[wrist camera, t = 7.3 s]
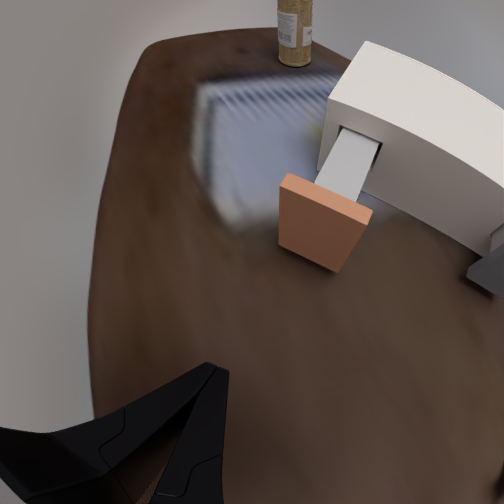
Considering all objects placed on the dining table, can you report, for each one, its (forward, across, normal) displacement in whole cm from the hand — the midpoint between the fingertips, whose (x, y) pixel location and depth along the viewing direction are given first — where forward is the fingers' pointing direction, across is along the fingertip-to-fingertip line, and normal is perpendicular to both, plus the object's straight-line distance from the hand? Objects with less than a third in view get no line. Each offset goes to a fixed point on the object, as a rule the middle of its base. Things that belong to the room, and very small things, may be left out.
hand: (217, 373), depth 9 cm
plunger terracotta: (+19, -2, -3) cm, 20 cm away
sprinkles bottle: (+36, +8, -17) cm, 40 cm away
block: (+25, -11, -7) cm, 29 cm away
